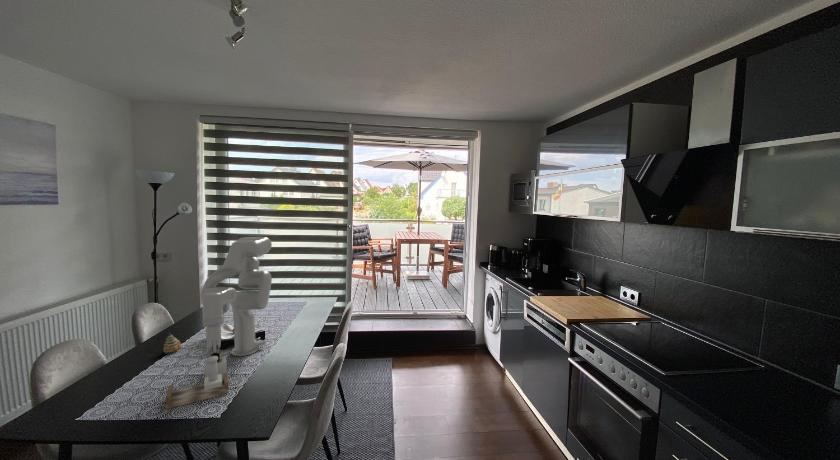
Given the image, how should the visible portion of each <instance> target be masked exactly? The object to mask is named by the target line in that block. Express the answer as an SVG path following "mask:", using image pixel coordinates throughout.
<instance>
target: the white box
mask: <svg viewBox="0 0 840 460" xmlns="http://www.w3.org/2000/svg"><path fill="white" fill-rule="evenodd" d="M220 360H221V363H217V370H218V374H222V379H224V373H227V374H228V363H227V362H228V361H227V356H225V355H224V356H220ZM205 377H208V363H207V362H206V360H204V378H205Z"/></svg>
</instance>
